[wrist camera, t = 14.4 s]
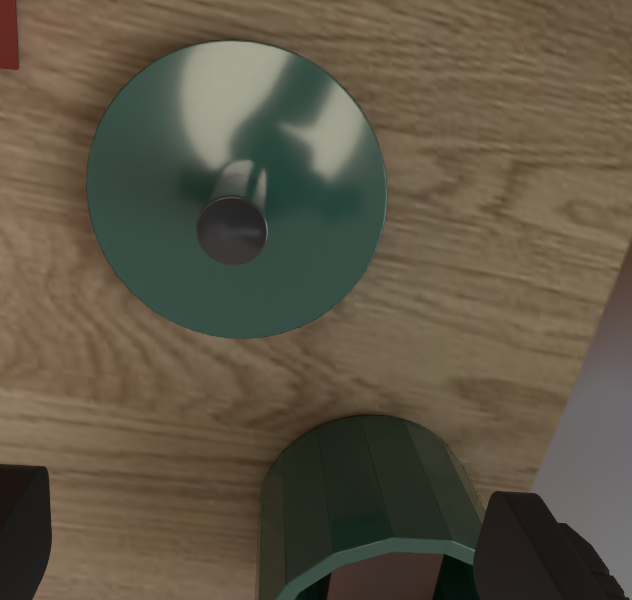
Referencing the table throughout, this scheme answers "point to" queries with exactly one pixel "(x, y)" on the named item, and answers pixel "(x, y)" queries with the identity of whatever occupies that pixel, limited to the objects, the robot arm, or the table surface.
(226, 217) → the lid
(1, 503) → the robot arm
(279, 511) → the tin
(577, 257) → the table surface
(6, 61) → the stand
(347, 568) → the block
